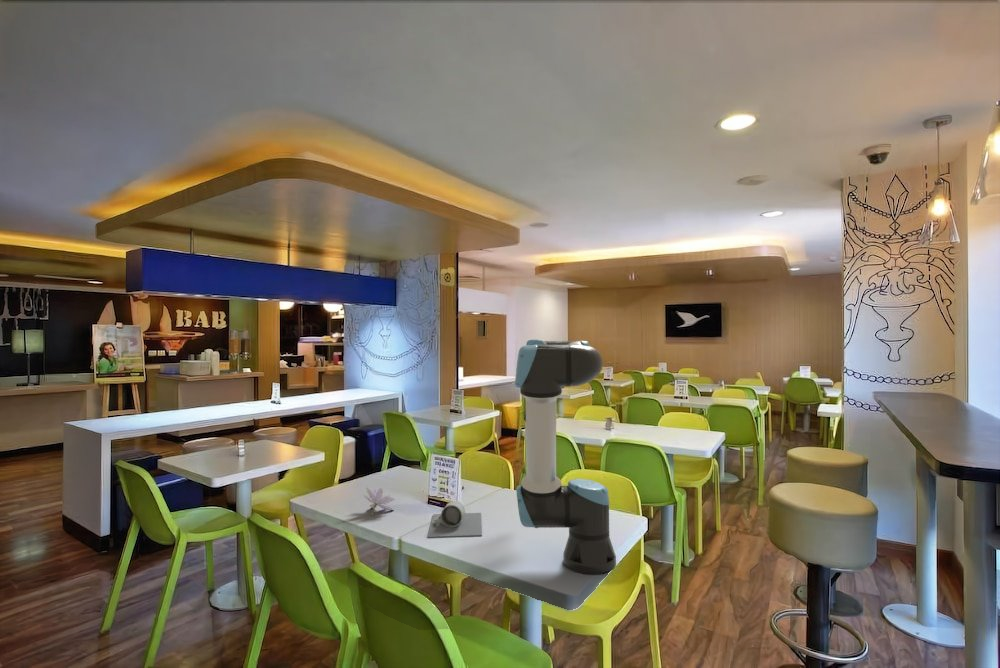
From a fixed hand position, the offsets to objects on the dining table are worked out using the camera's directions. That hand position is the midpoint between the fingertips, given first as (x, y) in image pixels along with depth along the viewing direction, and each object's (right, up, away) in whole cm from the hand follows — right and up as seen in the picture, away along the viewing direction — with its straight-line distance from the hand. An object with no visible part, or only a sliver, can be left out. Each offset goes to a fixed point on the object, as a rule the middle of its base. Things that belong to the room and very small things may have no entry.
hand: (532, 440), depth 183 cm
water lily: (-58, -30, +11) cm, 66 cm away
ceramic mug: (-30, -29, -4) cm, 42 cm away
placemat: (-27, -29, -4) cm, 40 cm away
